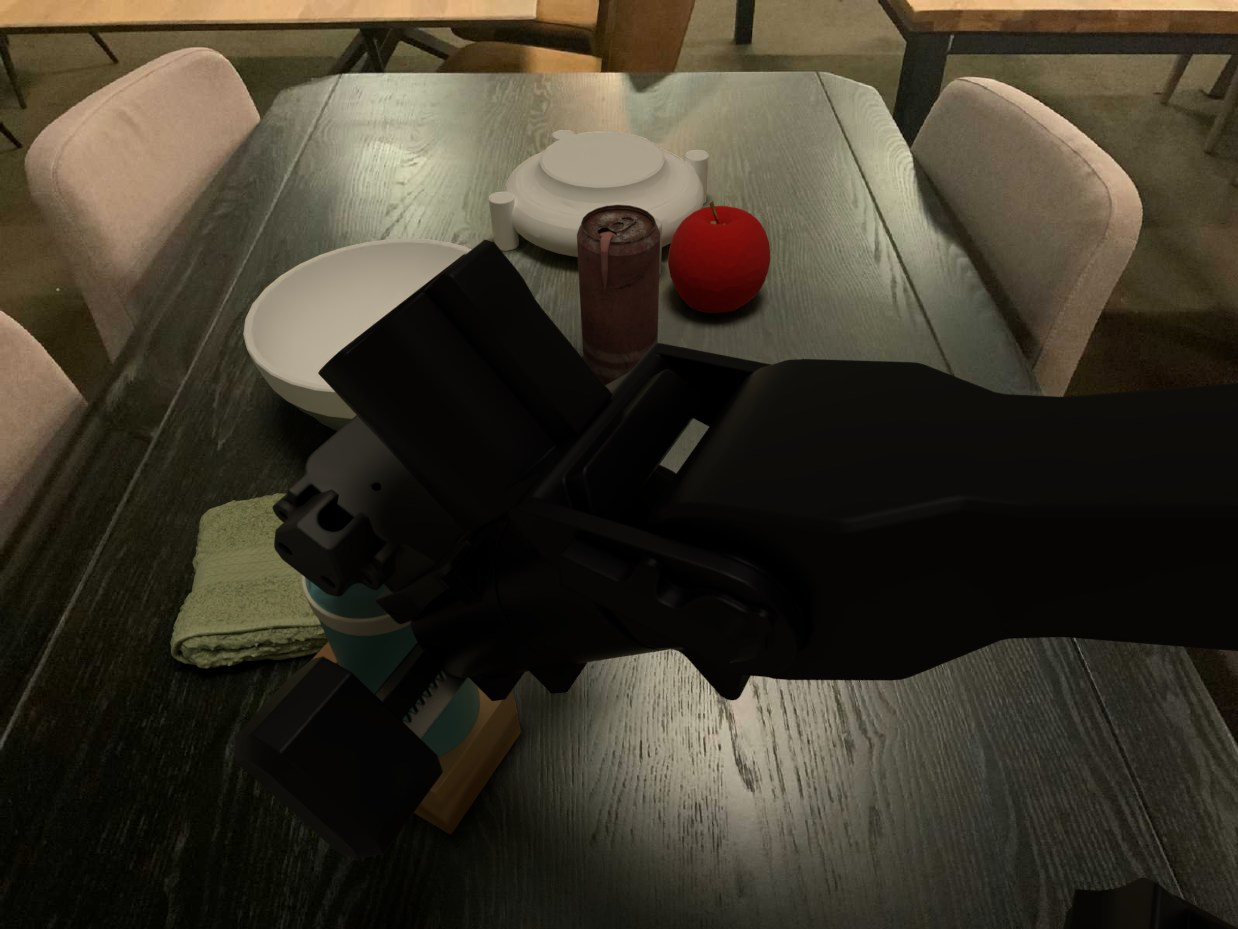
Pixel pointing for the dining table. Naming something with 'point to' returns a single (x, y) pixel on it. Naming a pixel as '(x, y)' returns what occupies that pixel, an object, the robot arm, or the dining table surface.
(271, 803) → the dining table surface
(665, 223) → the round stand with pegs
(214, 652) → the washcloth
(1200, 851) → the dining table surface
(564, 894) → the dining table surface
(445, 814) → the stepped wooden block
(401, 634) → the teal cup
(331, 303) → the bowl
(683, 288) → the fruit
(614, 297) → the can
